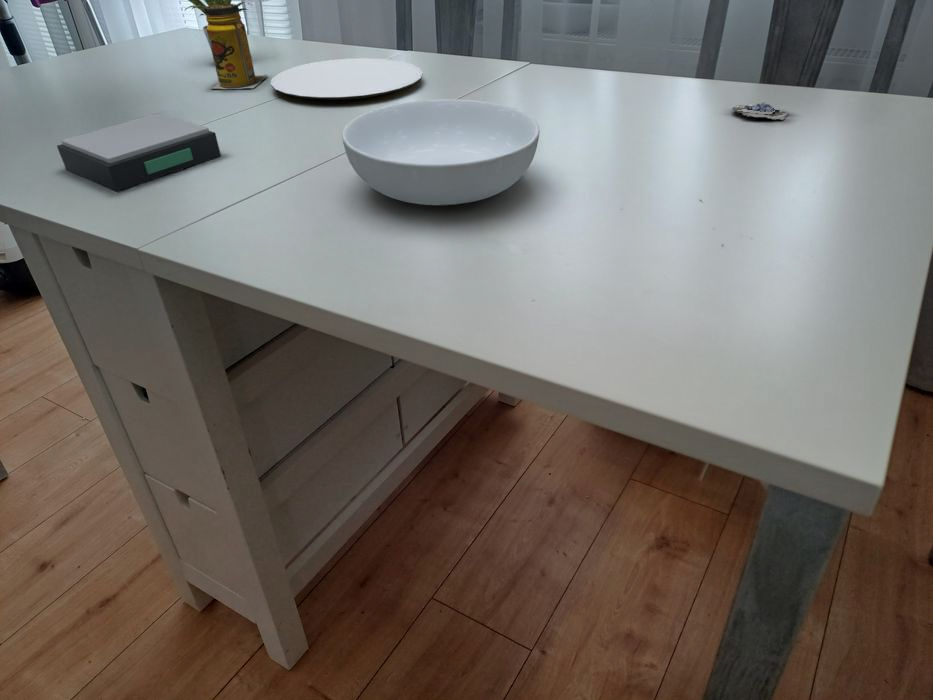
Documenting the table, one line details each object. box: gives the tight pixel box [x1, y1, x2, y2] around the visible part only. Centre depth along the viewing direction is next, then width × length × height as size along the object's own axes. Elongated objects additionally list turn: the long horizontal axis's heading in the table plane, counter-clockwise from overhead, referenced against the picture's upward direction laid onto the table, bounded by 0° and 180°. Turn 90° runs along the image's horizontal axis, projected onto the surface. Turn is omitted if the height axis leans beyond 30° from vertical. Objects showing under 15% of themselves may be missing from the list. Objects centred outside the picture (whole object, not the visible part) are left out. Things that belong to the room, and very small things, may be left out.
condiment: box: [205, 3, 269, 90], centre depth 110 cm, size 7×8×12 cm
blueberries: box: [731, 101, 789, 121], centre depth 92 cm, size 7×8×2 cm
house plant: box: [184, 0, 251, 52], centre depth 122 cm, size 14×14×16 cm
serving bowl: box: [341, 98, 541, 206], centre depth 72 cm, size 21×21×7 cm
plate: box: [270, 57, 424, 101], centre depth 110 cm, size 25×25×2 cm
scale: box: [56, 112, 222, 192], centre depth 81 cm, size 14×12×4 cm
